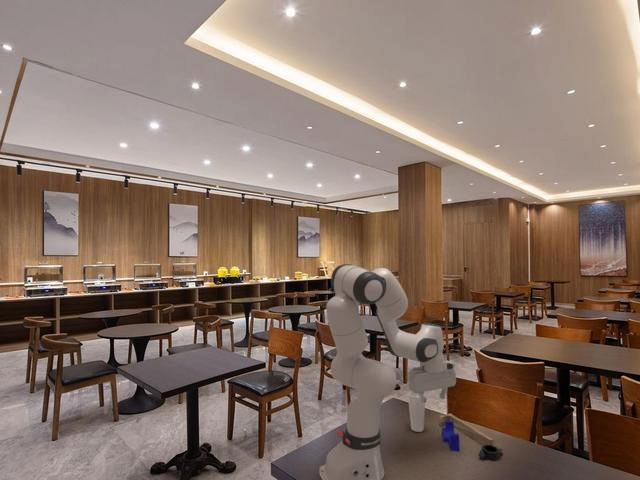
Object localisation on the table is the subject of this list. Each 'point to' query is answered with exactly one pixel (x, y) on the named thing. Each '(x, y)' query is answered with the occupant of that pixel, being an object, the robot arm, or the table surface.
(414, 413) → the drinking glass
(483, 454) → the black winged round fixture
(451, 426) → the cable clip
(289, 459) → the table surface
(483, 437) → the bar
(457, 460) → the table surface
